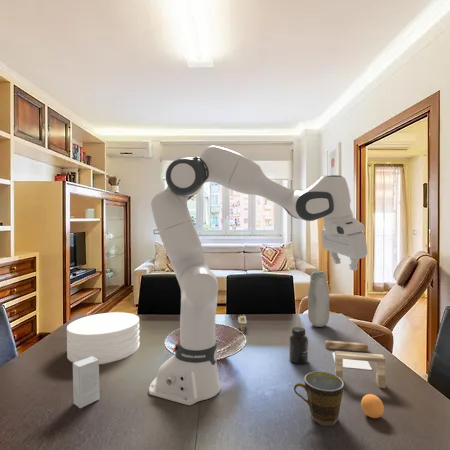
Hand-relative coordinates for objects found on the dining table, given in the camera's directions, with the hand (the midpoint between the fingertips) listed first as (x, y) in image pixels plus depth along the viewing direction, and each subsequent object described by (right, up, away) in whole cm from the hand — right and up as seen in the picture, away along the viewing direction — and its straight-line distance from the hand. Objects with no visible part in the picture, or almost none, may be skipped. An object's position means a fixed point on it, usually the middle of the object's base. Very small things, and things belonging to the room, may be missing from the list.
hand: (345, 266), depth 97 cm
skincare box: (-80, -39, -9) cm, 89 cm away
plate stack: (-90, -39, +28) cm, 102 cm away
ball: (0, -35, -17) cm, 39 cm away
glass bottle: (+8, -38, +53) cm, 65 cm away
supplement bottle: (-11, -38, +15) cm, 42 cm away
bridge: (+4, -38, -1) cm, 38 cm away
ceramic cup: (-14, -38, -18) cm, 44 cm away
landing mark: (+8, -38, +15) cm, 41 cm away
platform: (-31, -38, +51) cm, 71 cm away
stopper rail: (+11, -37, +26) cm, 47 cm away
